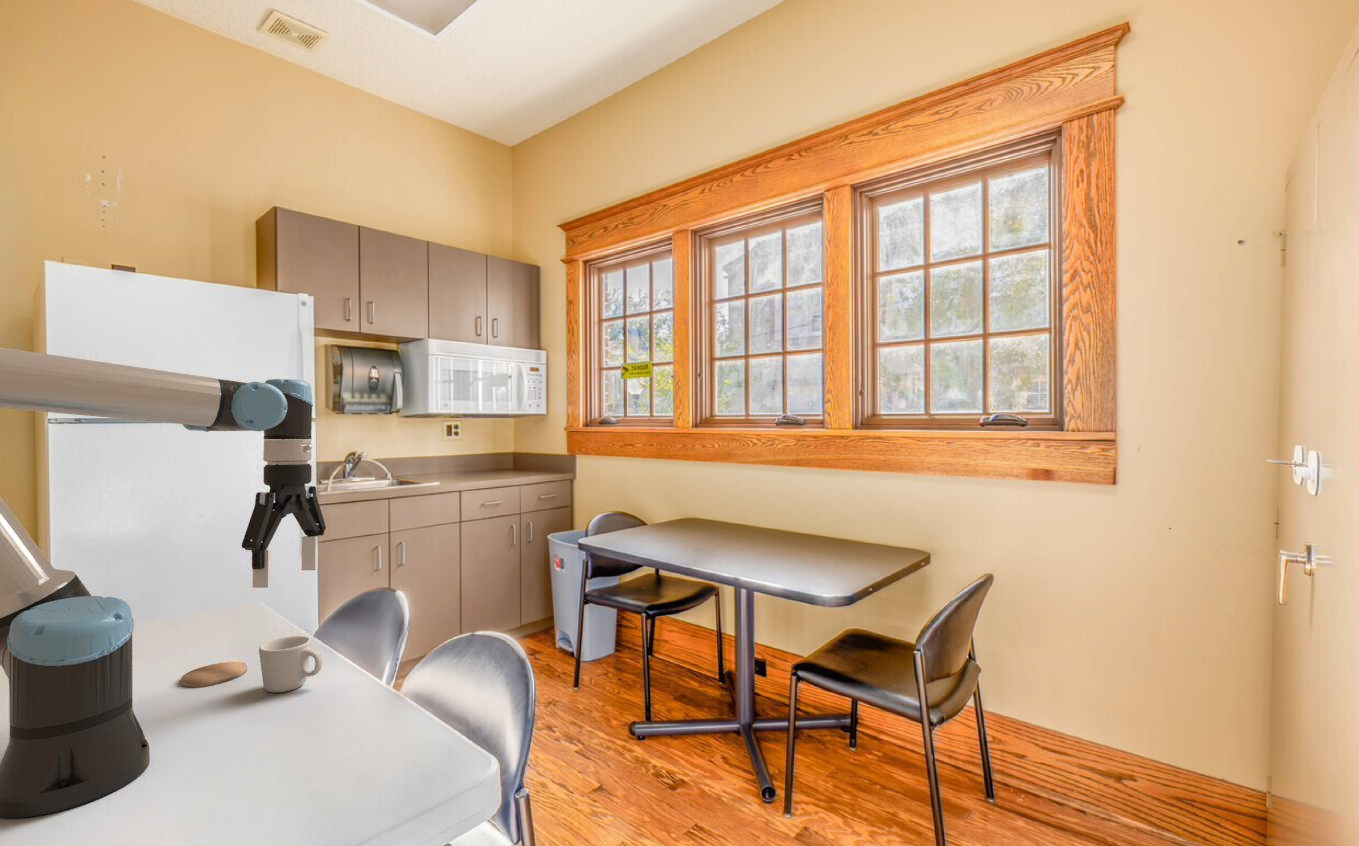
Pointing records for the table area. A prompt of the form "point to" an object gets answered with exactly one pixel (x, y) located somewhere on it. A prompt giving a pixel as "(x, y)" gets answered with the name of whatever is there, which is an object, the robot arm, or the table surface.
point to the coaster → (213, 674)
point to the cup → (287, 663)
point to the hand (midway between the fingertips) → (287, 578)
